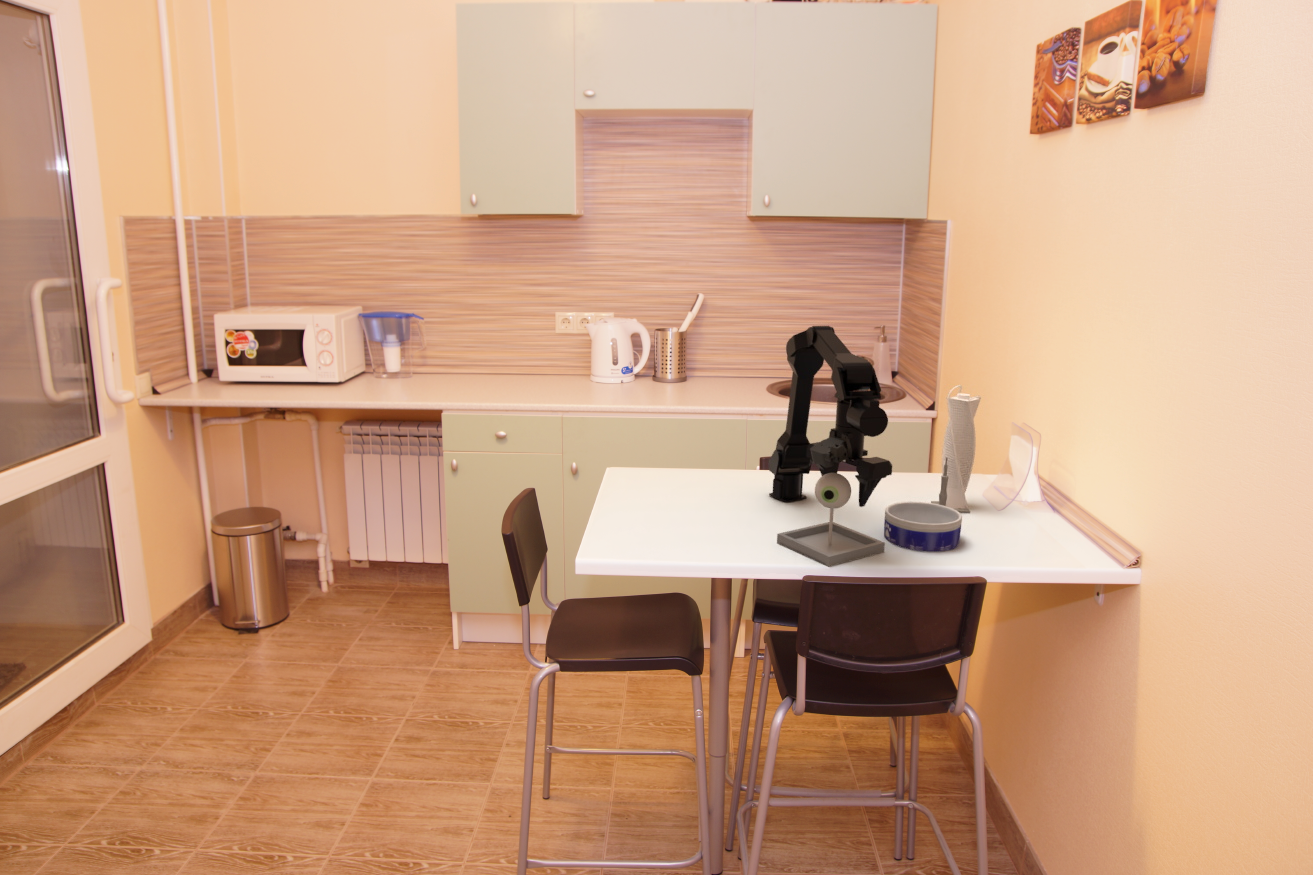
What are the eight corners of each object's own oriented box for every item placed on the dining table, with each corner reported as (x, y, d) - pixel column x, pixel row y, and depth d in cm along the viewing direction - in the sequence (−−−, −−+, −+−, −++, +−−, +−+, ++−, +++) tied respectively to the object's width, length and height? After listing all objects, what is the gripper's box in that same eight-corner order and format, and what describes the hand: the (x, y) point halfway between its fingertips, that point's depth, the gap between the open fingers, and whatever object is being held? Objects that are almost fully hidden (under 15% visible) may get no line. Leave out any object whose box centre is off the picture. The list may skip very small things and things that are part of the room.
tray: (831, 530, 193) (831, 521, 193) (884, 552, 181) (884, 542, 181) (776, 542, 185) (777, 533, 185) (828, 566, 173) (829, 556, 173)
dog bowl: (868, 532, 193) (870, 505, 191) (926, 524, 199) (928, 497, 197) (915, 557, 179) (917, 528, 178) (975, 547, 185) (978, 518, 184)
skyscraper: (929, 500, 214) (939, 383, 208) (964, 501, 214) (975, 384, 208) (939, 512, 206) (950, 390, 200) (975, 513, 206) (987, 391, 199)
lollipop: (808, 548, 181) (812, 475, 178) (816, 536, 188) (819, 466, 184) (844, 553, 179) (848, 480, 175) (850, 541, 185) (855, 470, 182)
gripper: (787, 419, 183) (784, 494, 186) (854, 439, 167) (848, 520, 171) (829, 413, 188) (824, 486, 192) (897, 432, 173) (890, 510, 177)
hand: (845, 500), depth 183 cm, fingers open, 9 cm apart
